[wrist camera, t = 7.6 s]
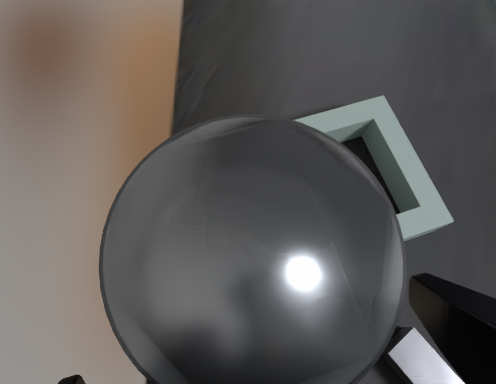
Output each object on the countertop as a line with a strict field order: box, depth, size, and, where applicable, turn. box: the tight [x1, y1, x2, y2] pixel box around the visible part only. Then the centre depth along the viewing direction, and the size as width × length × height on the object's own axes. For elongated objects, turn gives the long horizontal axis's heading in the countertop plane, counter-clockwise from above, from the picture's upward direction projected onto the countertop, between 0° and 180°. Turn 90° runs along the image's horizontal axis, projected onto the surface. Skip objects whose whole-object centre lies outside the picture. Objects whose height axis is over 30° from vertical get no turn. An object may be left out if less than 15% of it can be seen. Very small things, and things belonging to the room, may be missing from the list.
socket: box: [293, 95, 454, 241], centre depth 19 cm, size 8×8×2 cm
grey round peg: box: [99, 114, 406, 384], centre depth 11 cm, size 4×4×13 cm
